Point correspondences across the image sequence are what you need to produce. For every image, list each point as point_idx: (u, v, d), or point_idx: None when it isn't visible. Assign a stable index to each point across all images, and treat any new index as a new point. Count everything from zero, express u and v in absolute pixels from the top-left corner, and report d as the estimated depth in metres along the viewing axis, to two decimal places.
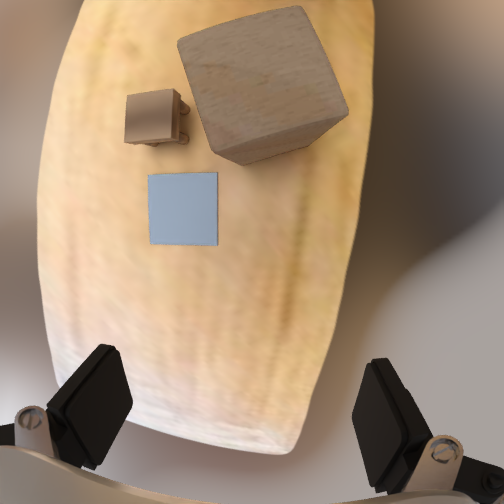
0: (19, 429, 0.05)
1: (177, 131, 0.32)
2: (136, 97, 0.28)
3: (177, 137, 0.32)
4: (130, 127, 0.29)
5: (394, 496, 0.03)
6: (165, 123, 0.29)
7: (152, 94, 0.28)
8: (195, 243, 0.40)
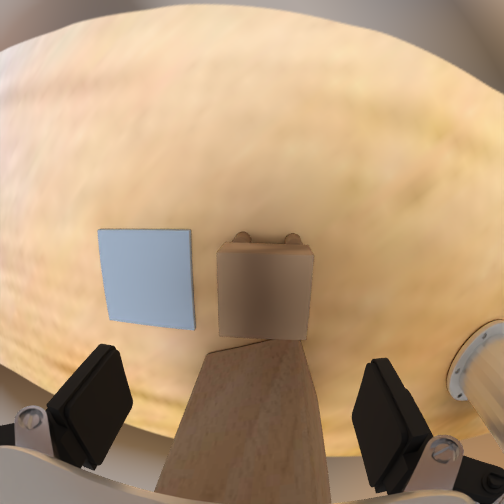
0: (19, 429, 0.05)
1: None
2: (304, 275, 0.18)
3: None
4: (244, 265, 0.18)
5: (395, 496, 0.03)
6: (244, 328, 0.19)
7: (303, 305, 0.18)
8: (106, 294, 0.28)
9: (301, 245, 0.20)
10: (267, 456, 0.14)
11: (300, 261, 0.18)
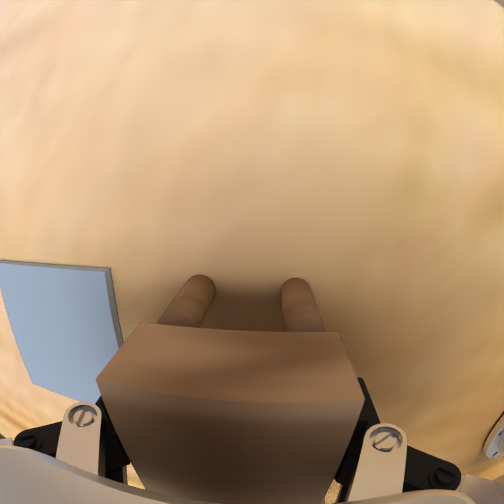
0: (71, 427, 0.05)
1: None
2: (331, 438, 0.06)
3: None
4: (169, 417, 0.06)
5: (395, 496, 0.03)
6: (193, 497, 0.07)
7: (319, 478, 0.06)
8: (21, 352, 0.15)
9: (322, 336, 0.08)
10: None
11: (325, 414, 0.05)
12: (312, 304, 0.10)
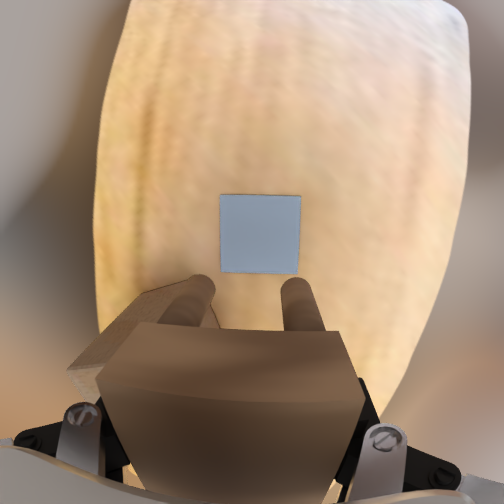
0: (71, 427, 0.05)
1: None
2: (331, 438, 0.06)
3: None
4: (169, 416, 0.06)
5: (395, 496, 0.03)
6: (192, 497, 0.07)
7: (319, 478, 0.06)
8: (244, 197, 0.35)
9: (322, 335, 0.08)
10: None
11: (325, 414, 0.05)
12: (312, 303, 0.10)
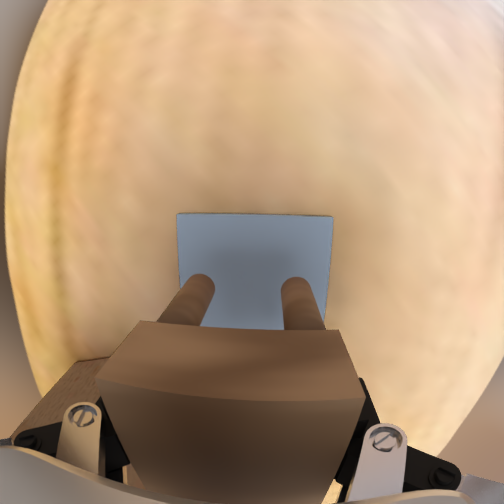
0: (71, 427, 0.05)
1: None
2: (332, 437, 0.06)
3: None
4: (168, 415, 0.06)
5: (395, 496, 0.03)
6: (192, 496, 0.07)
7: (319, 477, 0.06)
8: (223, 218, 0.18)
9: (322, 334, 0.08)
10: None
11: (325, 413, 0.05)
12: (312, 302, 0.10)
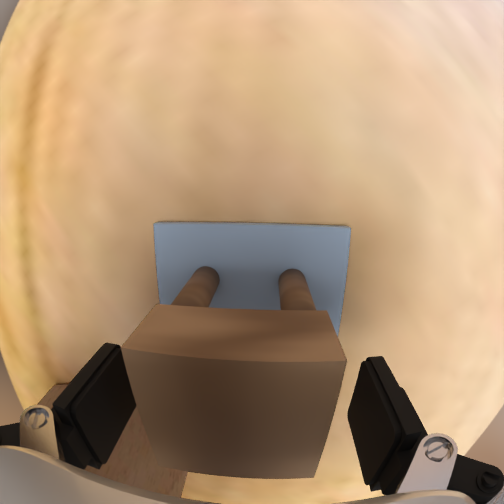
0: (25, 428, 0.05)
1: None
2: (321, 398, 0.07)
3: None
4: (183, 378, 0.07)
5: (395, 496, 0.03)
6: (199, 464, 0.08)
7: (312, 441, 0.08)
8: (211, 228, 0.14)
9: (313, 314, 0.09)
10: None
11: (314, 374, 0.07)
12: (305, 290, 0.12)
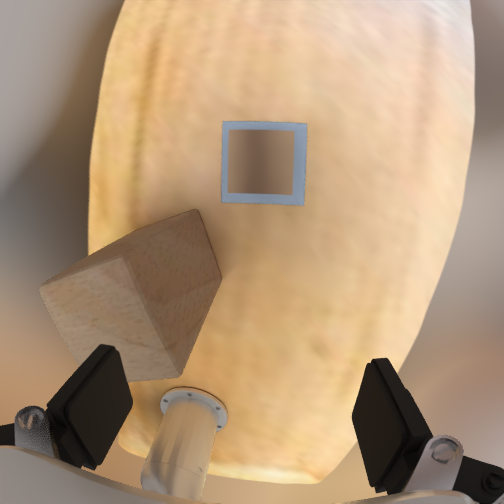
0: (19, 429, 0.05)
1: None
2: (288, 144, 0.25)
3: None
4: (247, 137, 0.25)
5: (395, 496, 0.03)
6: (246, 185, 0.26)
7: (288, 167, 0.26)
8: (248, 123, 0.32)
9: None
10: (186, 316, 0.24)
11: (285, 134, 0.25)
12: None
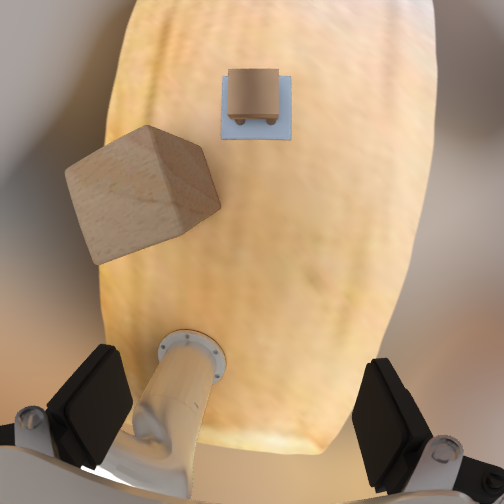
0: (19, 429, 0.05)
1: (238, 118, 0.33)
2: (274, 78, 0.29)
3: (232, 118, 0.33)
4: (242, 74, 0.30)
5: (395, 496, 0.03)
6: (242, 108, 0.31)
7: (275, 93, 0.30)
8: None
9: None
10: (190, 199, 0.28)
11: (271, 71, 0.29)
12: None
